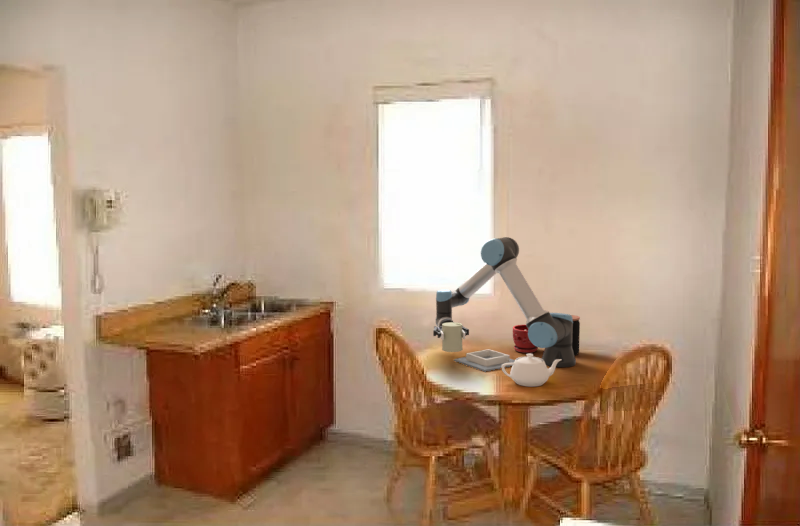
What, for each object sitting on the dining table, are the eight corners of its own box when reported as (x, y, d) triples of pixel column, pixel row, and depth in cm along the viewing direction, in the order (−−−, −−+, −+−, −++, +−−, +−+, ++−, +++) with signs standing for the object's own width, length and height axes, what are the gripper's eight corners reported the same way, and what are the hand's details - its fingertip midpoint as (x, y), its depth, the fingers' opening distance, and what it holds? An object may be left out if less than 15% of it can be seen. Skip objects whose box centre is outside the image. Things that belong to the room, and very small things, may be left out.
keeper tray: (522, 364, 298) (522, 355, 298) (485, 372, 286) (485, 363, 286) (489, 354, 316) (489, 346, 316) (453, 361, 304) (453, 352, 304)
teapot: (505, 389, 262) (505, 359, 260) (497, 377, 277) (497, 349, 275) (567, 388, 263) (567, 358, 261) (555, 376, 278) (556, 348, 277)
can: (461, 352, 288) (461, 325, 286) (440, 351, 290) (440, 325, 288) (463, 347, 297) (463, 321, 295) (443, 347, 299) (443, 320, 297)
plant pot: (506, 350, 325) (507, 326, 324) (527, 346, 332) (527, 323, 330) (524, 355, 314) (524, 331, 313) (545, 352, 320) (545, 328, 319)
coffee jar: (583, 355, 314) (584, 318, 312) (563, 356, 311) (564, 319, 309) (571, 350, 324) (572, 314, 322) (552, 351, 321) (552, 315, 319)
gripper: (469, 333, 311) (478, 344, 289) (424, 334, 310) (429, 345, 288) (469, 317, 311) (478, 327, 288) (424, 318, 309) (429, 328, 287)
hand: (453, 336), depth 288 cm, fingers closed on can, 9 cm apart
